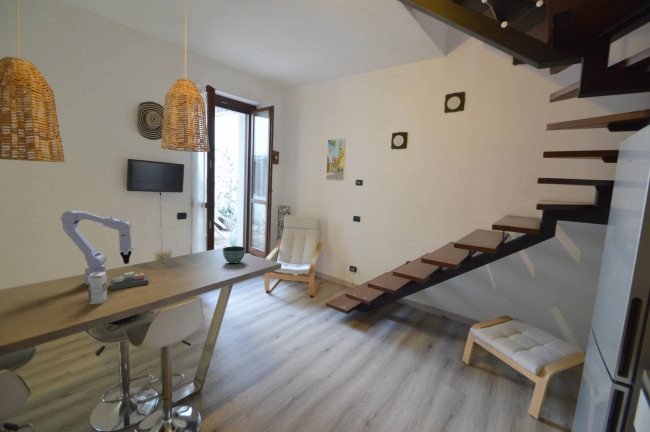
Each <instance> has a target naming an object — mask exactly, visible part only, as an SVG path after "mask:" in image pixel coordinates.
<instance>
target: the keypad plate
mask: <svg viewBox="0 0 650 432" xmlns="http://www.w3.org/2000/svg"><path fill="white" fill-rule="evenodd" d="M123 279H124V281H123V282H122V283H115V282H114V279H111V280H109V290H110V291H115V290H120V289H126V288H131V287H137V286H138V287H139V286H144V285H145V286H146V285H149V277H148V275H147V274H144V279H142V280H136V279H135V276H134V277H133V281H128V282H126V278H125V277H123Z"/></svg>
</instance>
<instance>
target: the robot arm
mask: <svg viewBox="0 0 650 432" xmlns="http://www.w3.org/2000/svg"><path fill="white" fill-rule="evenodd" d="M83 220H87V221H92V222H94V223H95V222H96V223H98V224H99V223H100V224H102V226H103V227H106V228H110V229H114V230H117V231H118V239H119V241H118V244H119V249H118V250H119V254H120V256H121V258H122V261H123V264H124V265H129V263H130V258H131V255H132V250H135V247H132V235H131V228H132V223H131V222H130V221H128V220H124V221H123V219H117V218H115V217H114V216H110V217H109V216H107V217H103V216H99V215H97V214H93V213H90V212H88V211H85V210H80V209H73V210H67V211H65V212H63V213H62V214H61V216H60V221H61V223H62V225H61V226H62V229H63V231H64V233H66V235H67V236H68V237H69V238H70V239H71V241H72V242H73V243H74V244H75V246H77V248H78V249H79V250H80V251H81V252H82V253H83V255H84V260H85V261H86V264H87V268H84V281H85V286H88V276H89V275H91V274H92V273H95V272H106V273H107V271H106V264H105V263H106V261H107V256H106V255H105V254H102V252H101V251H98V250H96V249H95V248H94V246H92V243H90V242H89V240H87V238H86V237H85V236H84V234H83V233H82V232H81V231H80V230H79V228H78V226H79V225H78V224H79V223H80V221H83ZM106 282H108V277H106Z"/></svg>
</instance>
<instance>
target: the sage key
mask: <svg viewBox="0 0 650 432" xmlns="http://www.w3.org/2000/svg"><path fill="white" fill-rule="evenodd" d="M123 277H124V278H126V282H128V281H133V277H135V273H134V271H129V272H124V275H123Z"/></svg>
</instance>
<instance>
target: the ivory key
mask: <svg viewBox="0 0 650 432" xmlns="http://www.w3.org/2000/svg"><path fill="white" fill-rule="evenodd" d="M123 278H124V275H120V276H114V277H113V280H114V282H115V283H122V282H123V281H124V279H123Z"/></svg>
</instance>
